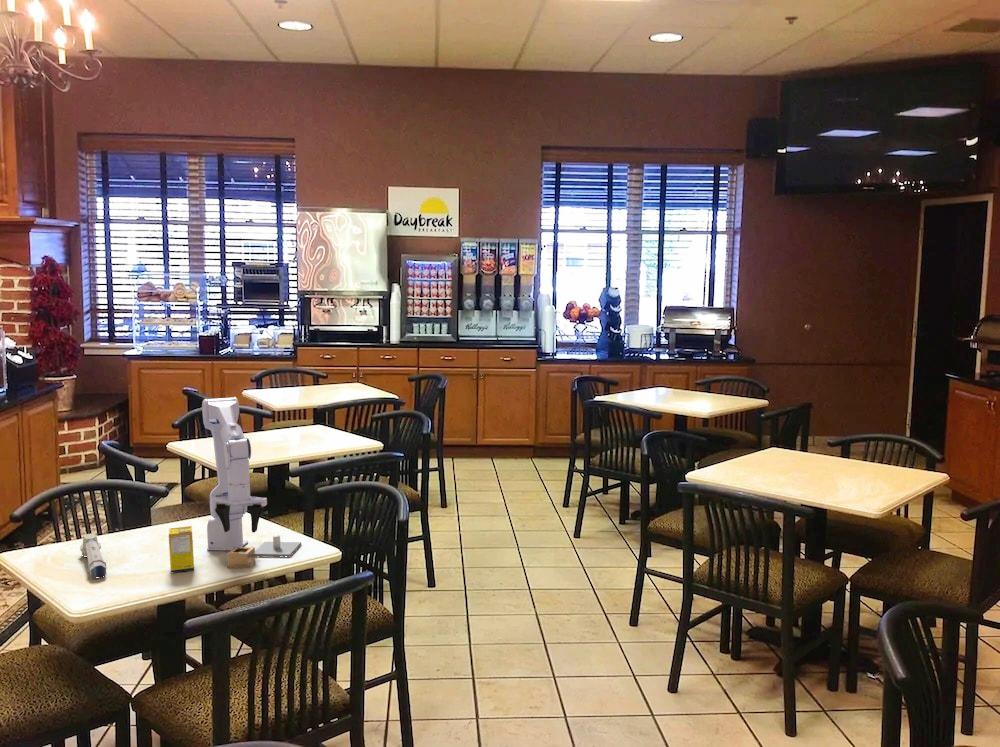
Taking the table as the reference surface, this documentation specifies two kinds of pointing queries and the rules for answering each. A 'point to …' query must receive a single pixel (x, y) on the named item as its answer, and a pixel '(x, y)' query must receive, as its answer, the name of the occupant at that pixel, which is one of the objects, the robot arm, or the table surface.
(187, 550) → the supplement box
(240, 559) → the open wooden box
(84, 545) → the white flashlight
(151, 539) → the table surface
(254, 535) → the table surface
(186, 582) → the table surface
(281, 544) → the hub plate
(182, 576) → the table surface
